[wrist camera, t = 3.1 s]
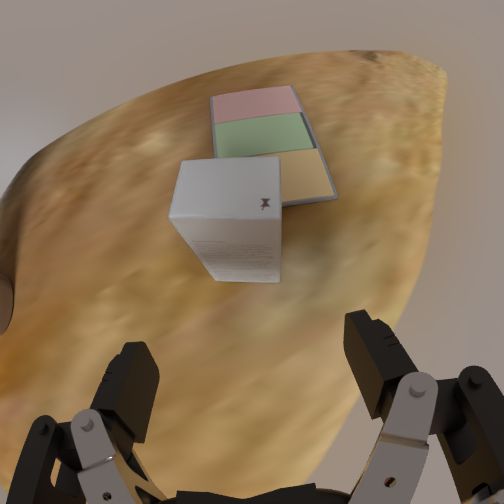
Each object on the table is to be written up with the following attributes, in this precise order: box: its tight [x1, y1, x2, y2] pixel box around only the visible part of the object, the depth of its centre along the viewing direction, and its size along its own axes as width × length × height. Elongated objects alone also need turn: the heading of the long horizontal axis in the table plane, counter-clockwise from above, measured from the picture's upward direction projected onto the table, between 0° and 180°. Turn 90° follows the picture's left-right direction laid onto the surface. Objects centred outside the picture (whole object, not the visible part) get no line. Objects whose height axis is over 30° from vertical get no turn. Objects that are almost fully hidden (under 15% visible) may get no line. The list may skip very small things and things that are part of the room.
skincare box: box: [168, 157, 282, 283], centre depth 20 cm, size 6×4×12 cm
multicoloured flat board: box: [210, 86, 338, 207], centre depth 31 cm, size 12×20×1 cm, turn 8°
